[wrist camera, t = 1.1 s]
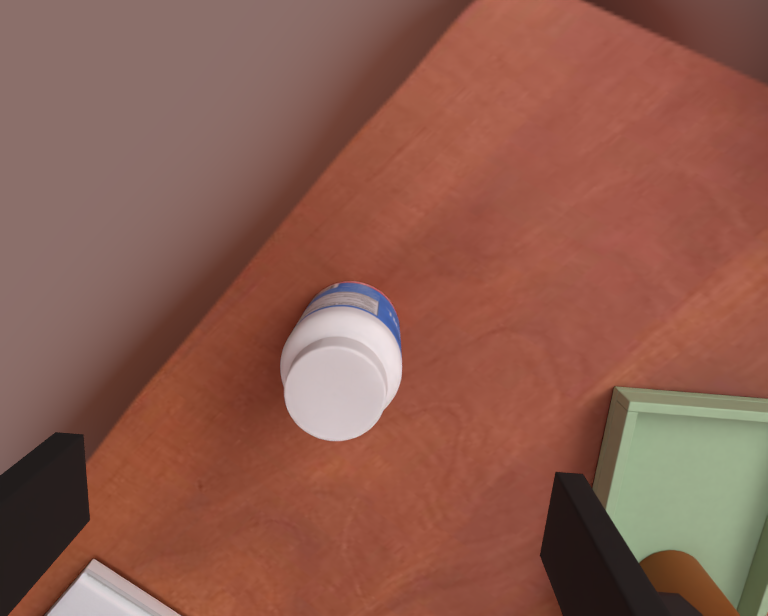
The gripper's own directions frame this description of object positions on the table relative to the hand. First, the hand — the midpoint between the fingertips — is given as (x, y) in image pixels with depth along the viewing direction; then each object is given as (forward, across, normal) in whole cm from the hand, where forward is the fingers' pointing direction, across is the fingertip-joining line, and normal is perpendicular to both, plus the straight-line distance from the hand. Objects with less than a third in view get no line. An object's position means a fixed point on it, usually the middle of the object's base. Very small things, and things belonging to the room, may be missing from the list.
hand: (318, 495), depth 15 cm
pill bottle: (+16, 0, 0) cm, 16 cm away
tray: (+16, +21, -15) cm, 30 cm away
